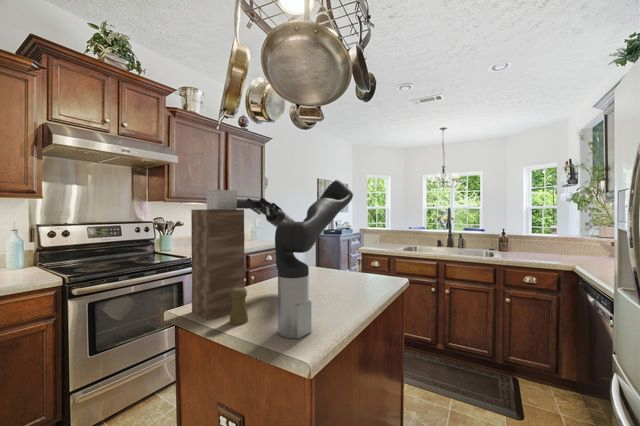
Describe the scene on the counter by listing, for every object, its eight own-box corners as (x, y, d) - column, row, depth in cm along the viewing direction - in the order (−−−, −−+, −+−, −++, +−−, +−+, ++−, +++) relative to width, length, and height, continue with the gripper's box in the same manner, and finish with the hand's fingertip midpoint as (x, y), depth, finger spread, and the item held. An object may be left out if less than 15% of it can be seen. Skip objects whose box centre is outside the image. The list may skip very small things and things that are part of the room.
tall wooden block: (244, 308, 110) (244, 209, 110) (210, 319, 99) (209, 209, 99) (225, 302, 117) (225, 209, 117) (191, 311, 106) (191, 209, 106)
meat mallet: (265, 209, 121) (265, 192, 121) (217, 209, 104) (217, 189, 104) (254, 209, 125) (254, 193, 125) (206, 209, 108) (206, 190, 108)
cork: (243, 325, 94) (243, 291, 94) (225, 324, 95) (225, 290, 95) (251, 318, 100) (251, 286, 99) (235, 317, 101) (234, 285, 101)
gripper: (271, 211, 137) (246, 192, 126) (293, 211, 129) (268, 191, 118) (265, 225, 135) (239, 207, 124) (287, 226, 126) (261, 207, 115)
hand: (253, 199), depth 121 cm, fingers open, 8 cm apart
